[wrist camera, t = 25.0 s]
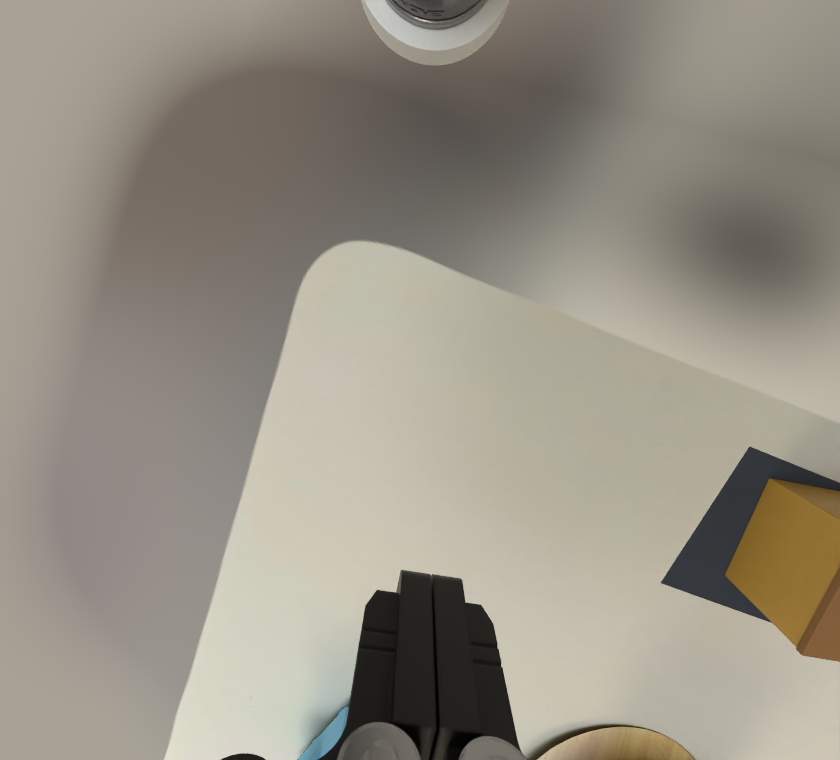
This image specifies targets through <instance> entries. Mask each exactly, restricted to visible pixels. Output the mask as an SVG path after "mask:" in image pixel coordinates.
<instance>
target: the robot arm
mask: <svg viewBox="0 0 840 760" xmlns="http://www.w3.org/2000/svg"><path fill="white" fill-rule="evenodd" d="M385 1H386V2H387V4H388V5H389V6H390V7H391V9H392V10H393V11H394V12H395V13H396V14H398V15H399V16H400V17H401V18H402V19H404V20H405V21H407V22H409V23H410V24H412V25H415V26H417V27H420V28H424V29H429V30H443V29H449V28H452V27H455V26H458V25H460V24H462V23H464V22H465V21H467V20H469V19H470V18H471V17H473V16H474V15H475V14H476V13H477V12H478V11H479V10H480V9H481V8H482V7H483V6H484V4H485V3H486V2H487V0H385ZM221 760H265V759H264V758H262V757H260V756H257V755H254V754H236V755H231V756H229V757H226V758H223V759H221ZM318 760H527V758H526V757H525V756H524V755H523V754H522V752H521V750H520V747H519V744H518V741H517V736H516V732H515V727H514V722H513V717H512V712H511V707H510V703H509V698H508V693H507V688H506V683H505V679H504V674H503V669H502V667H501V659H500V654H499V650H498V649H497V640H496V635H495V630H494V625H493V623H492V621H491V620H490V618H489V617H488V615H487V613H486V612H485V610H484V609H483V607H482V606H481V605H478V604H471V603H465V597H464V590H463V583H462V580H461V579H460V578H454V577H447V576H440V575H433V574H432V575H430V574H425V573H419V572H412V571H405V570H401V572H400V577H399V582H398V587H397V592H396V593H394V592H387V591H380V590H377V591H376V592H375V593H374V595H373V596H372V598H371V599H370V600H369V602H368V603H367V605H366V606H365V612H364V618H363V624H362V630H361V636H360V642H359V647H358V653H357V659H356V665H355V672H354V678H353V684H352V690H351V696H350V703H349V709H348V715H347V721H346V726H345V728H344V731H343V733H342V735H341V737H340V738H339V740H338V741H337V743H336V744H335V745H334V747H333V748H332V749H331V750H329V751H328V752H327V753H326V754H325V755H324V756H322V757H321V758H319V759H318Z"/></svg>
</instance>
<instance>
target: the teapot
mask: <svg viewBox="0 0 840 760" xmlns="http://www.w3.org/2000/svg"><path fill="white" fill-rule="evenodd" d="M348 709H349V707H347V706H346V707H345V708H343V709H341V710H340V711H339V715H338V716H337V717H336V718H335V719H334V720H333V721H332V722H331V723H330V724H329V726H328V727H327V728H326V729H325V730H324V731H323V732H322V733H321V734H320V735H319V736H318V737H317V738H315V739H314V740H313V741H312V743H311V745H310V746H309V747H308V748H307V749H306V751H305V752H304V753H303V754H302V755H301V756H300V757H299V758H298V759H297V760H318V759H319V758H321V757H322V756H324V755H325V754H326V753H327V752H328V751H329V750H331V749H332V748H333V747H334V745H335V744H336V743H337V741H338V740H339V738H340V737H341V735H342V733H343V731H344V728H345V726H346V721H347V715H348Z"/></svg>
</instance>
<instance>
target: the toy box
mask: <svg viewBox="0 0 840 760" xmlns="http://www.w3.org/2000/svg"><path fill="white" fill-rule="evenodd" d="M725 576H726V577H727V578H728V579H729V580H730V581H731V582H732V583H733V584H734V585H735V586H736V587H737V588H738V589H739V590H740V591H741V592H742V593H743V594H744V595H745V596H746V597H747V598H748V599H749V600H750V601H751V602H752V603H753V604H754V605H755V606H756V607H757V608H758V609H759V610H760V611H761V612H762V613H763V614H764V615H765V616H766V617H767V618H768V619H769V620H770V621H771V622H772V623H773V624H774V625H775V626H776V627H777V628H778V629H779V630H780V631H781V632H782V633H783V634H784V635H785V636H786V637H787V638H788V639H789V640H790V641H791V642H792V643H793V644H794V645H795V646H796V647H797V648H796V650H797V651H798V652H799V653H800V654H801V655H803V656H809V657H815V658H821V659H827V660H833V661H839V662H840V491H835V490H830V489H825V488H819V487H814V486H809V485H804V484H798V483H793V482H788V481H783V480H777V479H772V478H769V479H768V481H767V484H766V486H765V488H764V490H763V492H762V495H761V497H760V499H759V501H758V503H757V505H756V508H755V510H754V512H753V514H752V516H751V519H750V521H749V523H748V525H747V527H746V529H745V532H744V534H743V536H742V538H741V540H740V543H739V545H738V547H737V549H736V551H735V553H734V556H733V558H732V560H731V562H730V564H729V567H728V569H727V571H726V573H725Z"/></svg>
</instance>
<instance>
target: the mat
mask: <svg viewBox="0 0 840 760" xmlns="http://www.w3.org/2000/svg"><path fill="white" fill-rule="evenodd" d="M769 478H772V479H777V480H783V481H788V482H793V483H798V484H804V485H809V486H814V487H819V488H825V489H830V490H835V491H840V483H838V482H836V481H833V480H831V479H828V478H826V477H823V476H821V475H818V474H816V473H813V472H811V471H808V470H806V469H803V468H801V467H798V466H796V465H794V464H791V463H789V462H786V461H784V460H781V459H779V458H776V457H774V456H771V455H769V454H766V453H764V452H761V451H759V450H756V449H754V448H751V447H749V448H748V450H747V451H746V453H745V454H744V456H743V457H742V459H741V461H740V462H739V464H738V465H737V467H736V468H735V470H734V471H733V473H732V474H731V476H730V477H729V479H728V481H727V482H726V484H725V485H724V487H723V488H722V490H721V491H720V493H719V494H718V496H717V497H716V499H715V500H714V502H713V504H712V505H711V507H710V508H709V510H708V511H707V513H706V514H705V516H704V517H703V519H702V520H701V522H700V523H699V525H698V527H697V528H696V530H695V531H694V533H693V534H692V536H691V537H690V539H689V540H688V542H687V543H686V545H685V547H684V548H683V550H682V551H681V553H680V554H679V556H678V557H677V559H676V560H675V562H674V563H673V565H672V566H671V568H670V570H669V571H668V573H667V574H666V576H665V577H664V579H663V580H662V582H661V583H662V584H665V585H668V586H671V587H674V588H676V589H679V590H682V591H685V592H688V593H690V594H693V595H696V596H699V597H701V598H704V599H707V600H710V601H713V602H715V603H718V604H721V605H724V606H727V607H729V608H732V609H735V610H738V611H740V612H743V613H746V614H749V615H752V616H754V617H757V618H760V619H763V620H766V621H768V622H771V621H770V620H769V619H768V618H767V617H766V616H765V615H764V614H763V613H762V612H761V611H760V610H759V609H758V608H757V607H756V606H755V605H754V604H753V603H752V602H751V601H750V600H749V599H748V598H747V597H746V596H745V595H744V594H743V593H742V592H741V591H740V590H739V589H738V588H737V587H736V586H735V585H734V584H733V583H732V582H731V581H730V580H729V579H728V578H727V577H726V576H725V573H726V571H727V569H728V567H729V564H730V562H731V560H732V558H733V556H734V553H735V551H736V549H737V547H738V545H739V543H740V540H741V538H742V536H743V534H744V532H745V529H746V527H747V525H748V523H749V521H750V519H751V516H752V514H753V512H754V510H755V508H756V505H757V503H758V501H759V499H760V497H761V495H762V492H763V490H764V488H765V486H766V484H767V481H768V479H769ZM771 623H772V622H771Z"/></svg>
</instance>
